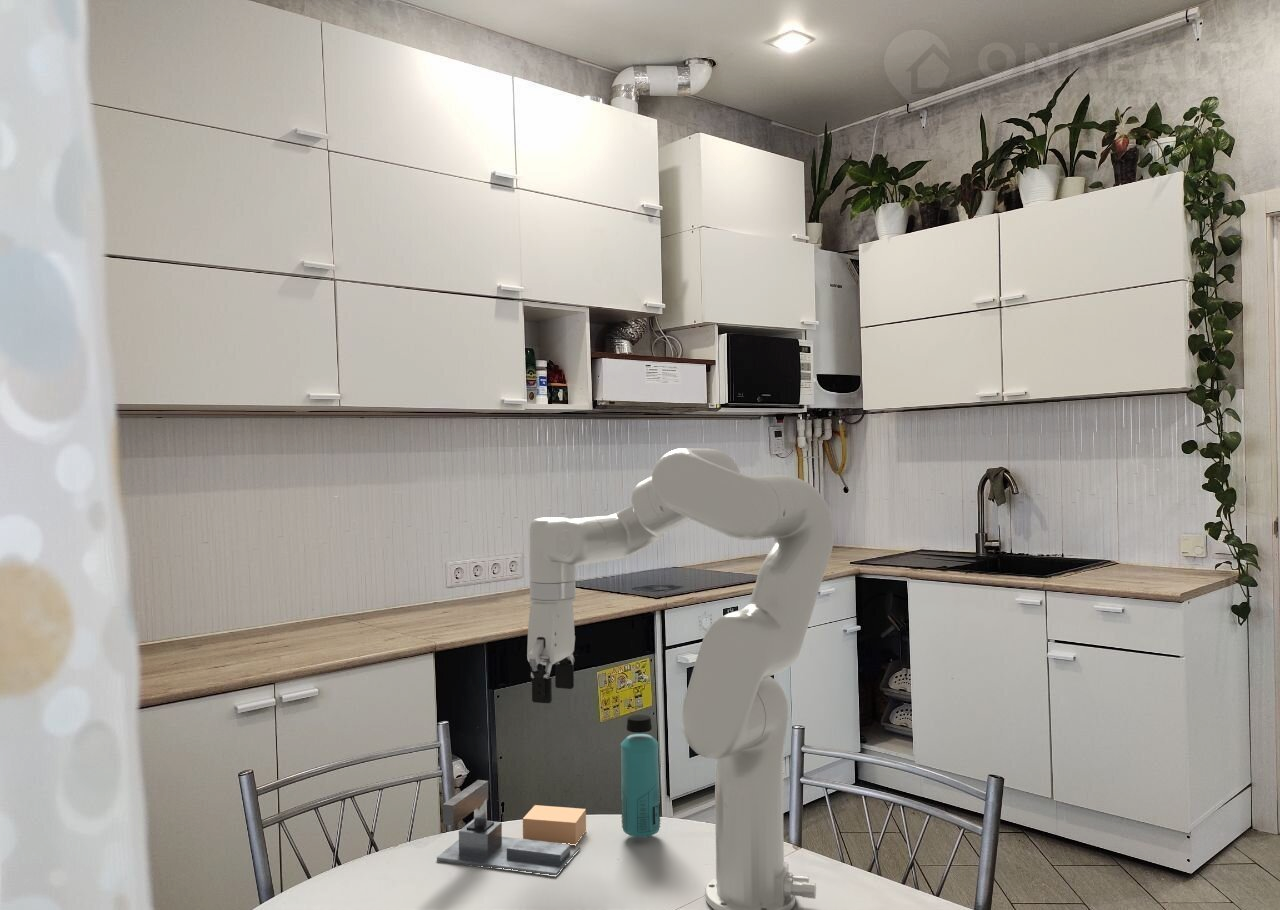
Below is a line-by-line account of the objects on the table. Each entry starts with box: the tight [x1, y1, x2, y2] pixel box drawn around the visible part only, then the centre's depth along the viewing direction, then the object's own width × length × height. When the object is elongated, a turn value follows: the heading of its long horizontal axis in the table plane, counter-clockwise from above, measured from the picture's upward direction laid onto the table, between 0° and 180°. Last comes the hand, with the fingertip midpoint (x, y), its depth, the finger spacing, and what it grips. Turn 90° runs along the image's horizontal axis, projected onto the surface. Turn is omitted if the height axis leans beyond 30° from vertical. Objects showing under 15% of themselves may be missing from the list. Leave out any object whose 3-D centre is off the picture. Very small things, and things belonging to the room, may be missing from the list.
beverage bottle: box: [620, 714, 662, 838], centre depth 149 cm, size 6×7×20 cm
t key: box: [442, 779, 489, 827], centre depth 140 cm, size 11×2×6 cm, turn 162°
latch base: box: [436, 818, 581, 875], centre depth 143 cm, size 20×10×4 cm, turn 73°
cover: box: [522, 804, 587, 844], centre depth 151 cm, size 9×6×4 cm, turn 77°
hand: (553, 695), depth 151 cm, fingers open, 9 cm apart
